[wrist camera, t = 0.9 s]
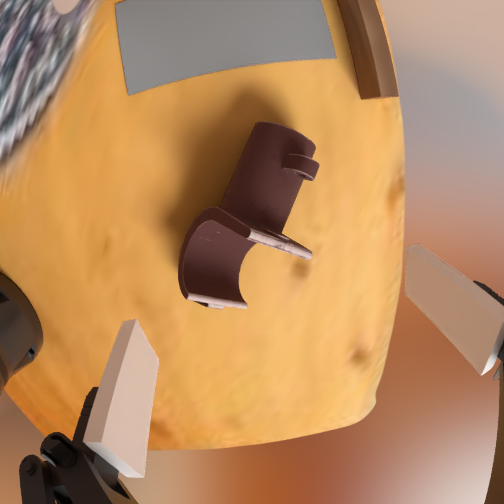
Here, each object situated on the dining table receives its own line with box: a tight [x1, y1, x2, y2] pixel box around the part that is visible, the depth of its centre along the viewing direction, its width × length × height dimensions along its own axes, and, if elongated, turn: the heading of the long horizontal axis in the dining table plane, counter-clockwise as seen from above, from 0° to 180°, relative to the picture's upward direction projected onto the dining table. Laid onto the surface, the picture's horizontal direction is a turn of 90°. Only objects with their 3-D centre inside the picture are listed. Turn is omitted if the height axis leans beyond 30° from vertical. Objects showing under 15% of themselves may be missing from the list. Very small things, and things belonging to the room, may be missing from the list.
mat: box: [115, 0, 337, 96], centre depth 20 cm, size 20×11×1 cm, turn 100°
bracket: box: [178, 121, 320, 309], centre depth 24 cm, size 6×17×10 cm, turn 156°
